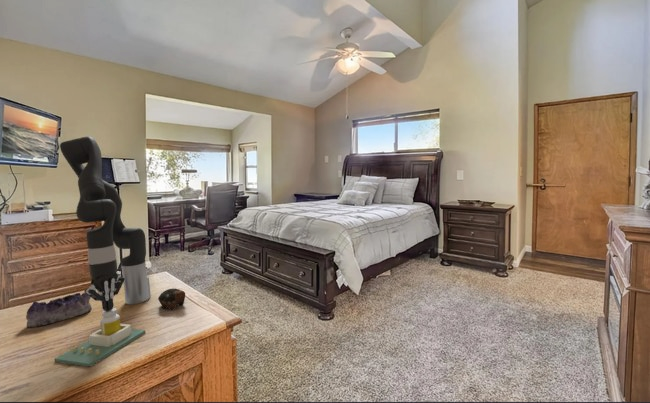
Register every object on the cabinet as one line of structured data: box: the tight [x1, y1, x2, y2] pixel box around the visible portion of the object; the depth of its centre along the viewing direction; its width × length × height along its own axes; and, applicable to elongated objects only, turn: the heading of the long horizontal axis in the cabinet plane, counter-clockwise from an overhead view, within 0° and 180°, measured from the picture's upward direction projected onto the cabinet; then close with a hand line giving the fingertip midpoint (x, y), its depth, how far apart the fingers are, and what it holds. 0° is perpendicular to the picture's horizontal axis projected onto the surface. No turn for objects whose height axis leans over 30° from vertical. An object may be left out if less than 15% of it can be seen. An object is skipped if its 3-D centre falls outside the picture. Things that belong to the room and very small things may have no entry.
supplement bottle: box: [100, 307, 121, 336], centre depth 106 cm, size 5×5×10 cm
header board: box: [54, 323, 146, 367], centre depth 103 cm, size 20×14×4 cm
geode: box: [25, 292, 92, 329], centre depth 127 cm, size 20×12×10 cm, turn 142°
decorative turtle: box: [157, 288, 186, 311], centre depth 132 cm, size 10×15×8 cm, turn 70°
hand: (108, 310), depth 105 cm, fingers closed
